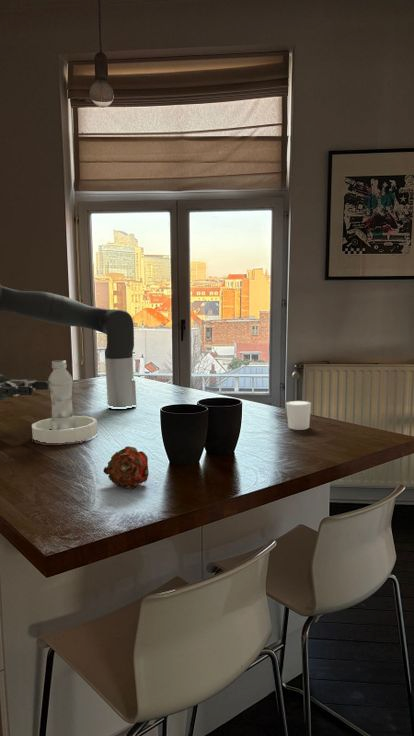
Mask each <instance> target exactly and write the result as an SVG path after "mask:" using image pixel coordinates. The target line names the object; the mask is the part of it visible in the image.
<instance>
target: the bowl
mask: <svg viewBox="0 0 414 736" xmlns="http://www.w3.org/2000/svg"><path fill="white" fill-rule="evenodd" d="M51 418H52V417H51ZM51 418H46V419H41V420H38V421H36V422H34V423H32V424H31V431H32V435H31V436H32V440H33V439H34V440H38V441H40V442H46V443H65V442H75V441H81V440H85V439H88V438H92V437H93V436H95V435H96V434H97V433H98V434H99V432H98V431H99V427H98V420H97V419H96V418H95V417H92V416H91V417H90V416H85V415H74V418H75V422H76V425H75V428H72V429H62V430H49V429H51Z"/></svg>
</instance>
